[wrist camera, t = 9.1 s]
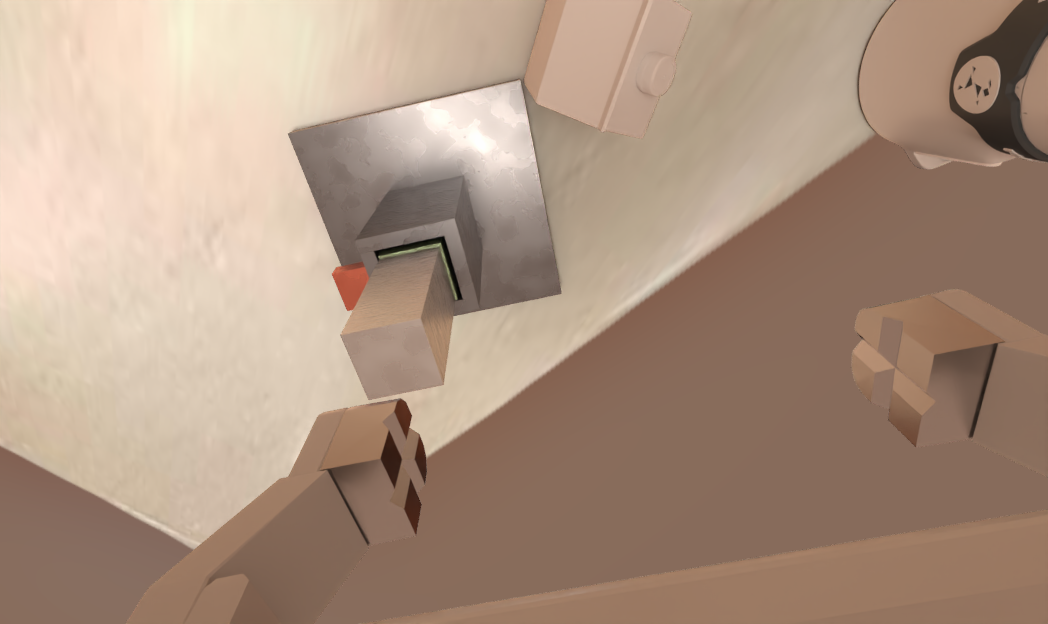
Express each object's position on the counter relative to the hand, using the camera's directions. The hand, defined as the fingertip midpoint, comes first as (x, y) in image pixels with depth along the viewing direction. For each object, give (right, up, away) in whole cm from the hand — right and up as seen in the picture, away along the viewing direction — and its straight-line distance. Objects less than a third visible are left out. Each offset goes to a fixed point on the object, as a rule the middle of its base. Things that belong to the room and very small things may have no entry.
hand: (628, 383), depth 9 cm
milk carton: (+2, +23, +34) cm, 41 cm away
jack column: (-10, +7, +34) cm, 36 cm away
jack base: (-10, +10, +40) cm, 42 cm away
